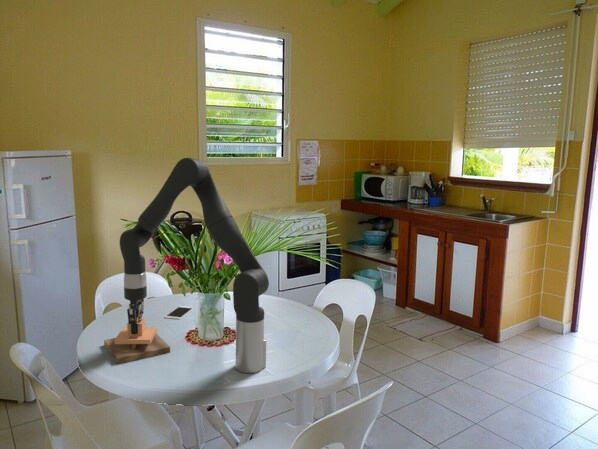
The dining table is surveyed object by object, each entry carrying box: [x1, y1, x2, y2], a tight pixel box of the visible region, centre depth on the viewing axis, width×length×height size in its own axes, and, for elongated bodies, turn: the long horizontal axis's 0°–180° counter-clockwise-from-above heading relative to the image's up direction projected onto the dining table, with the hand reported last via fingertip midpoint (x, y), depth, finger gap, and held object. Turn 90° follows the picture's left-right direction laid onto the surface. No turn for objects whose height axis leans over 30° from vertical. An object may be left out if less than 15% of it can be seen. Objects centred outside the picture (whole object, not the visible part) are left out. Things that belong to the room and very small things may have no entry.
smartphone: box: [164, 305, 195, 321], centre depth 208 cm, size 7×15×1 cm, turn 169°
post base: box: [103, 332, 171, 365], centre depth 169 cm, size 18×18×6 cm
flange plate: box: [114, 318, 158, 344], centre depth 168 cm, size 12×12×6 cm
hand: (136, 330), depth 169 cm, fingers closed on flange plate, 5 cm apart
